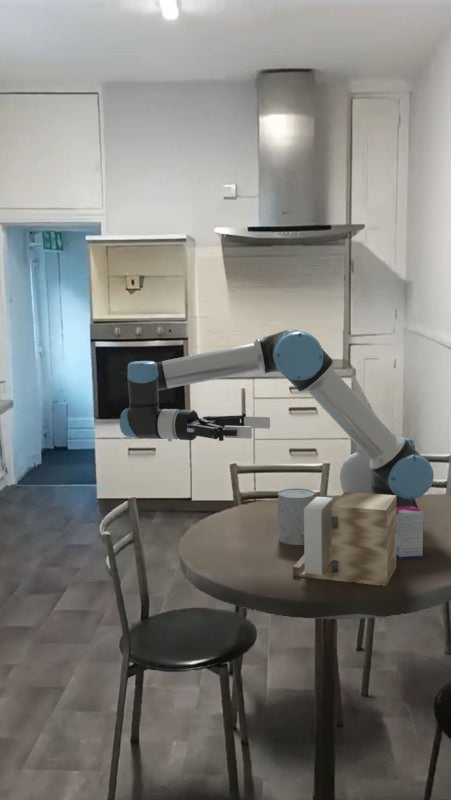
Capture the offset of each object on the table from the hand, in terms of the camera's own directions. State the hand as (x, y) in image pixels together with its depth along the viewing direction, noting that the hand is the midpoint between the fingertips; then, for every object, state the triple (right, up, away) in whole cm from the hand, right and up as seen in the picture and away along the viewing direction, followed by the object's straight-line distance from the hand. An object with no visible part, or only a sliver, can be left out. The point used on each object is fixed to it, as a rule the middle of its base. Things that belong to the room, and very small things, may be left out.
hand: (260, 427), depth 193 cm
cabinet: (+19, -33, -9) cm, 39 cm away
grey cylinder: (+10, -30, +17) cm, 35 cm away
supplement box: (+36, -31, +2) cm, 47 cm away
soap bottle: (+33, -25, +50) cm, 65 cm away
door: (+13, -32, -6) cm, 35 cm away
